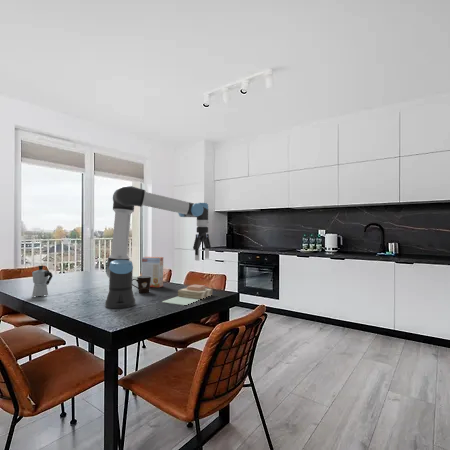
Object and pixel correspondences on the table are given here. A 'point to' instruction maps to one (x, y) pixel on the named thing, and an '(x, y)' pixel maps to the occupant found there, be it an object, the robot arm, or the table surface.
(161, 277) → the cracker box
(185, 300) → the mat
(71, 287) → the table surface
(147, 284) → the coffee mug
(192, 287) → the coaster
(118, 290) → the robot arm
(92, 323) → the table surface
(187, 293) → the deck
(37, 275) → the coffee maker
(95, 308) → the table surface
